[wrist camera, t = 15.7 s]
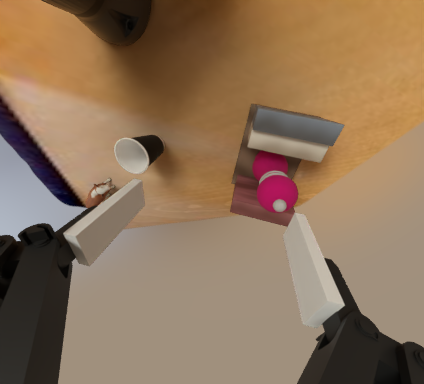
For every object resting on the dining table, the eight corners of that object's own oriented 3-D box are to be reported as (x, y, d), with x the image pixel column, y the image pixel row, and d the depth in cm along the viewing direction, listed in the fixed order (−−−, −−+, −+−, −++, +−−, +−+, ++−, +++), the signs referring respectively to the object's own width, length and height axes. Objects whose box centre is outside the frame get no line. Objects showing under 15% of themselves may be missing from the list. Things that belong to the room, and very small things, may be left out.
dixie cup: (168, 162, 46) (147, 178, 37) (142, 153, 47) (115, 168, 37) (171, 134, 42) (149, 144, 33) (142, 124, 42) (112, 132, 33)
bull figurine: (125, 181, 53) (106, 193, 46) (106, 200, 59) (87, 214, 52) (114, 170, 52) (92, 182, 45) (96, 191, 58) (75, 204, 51)
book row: (251, 103, 35) (251, 107, 24) (318, 116, 34) (353, 127, 22) (231, 181, 45) (225, 210, 34) (283, 193, 44) (295, 228, 32)
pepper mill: (268, 180, 42) (281, 237, 25) (245, 164, 41) (242, 211, 24) (291, 157, 38) (323, 206, 21) (266, 139, 37) (279, 174, 20)
